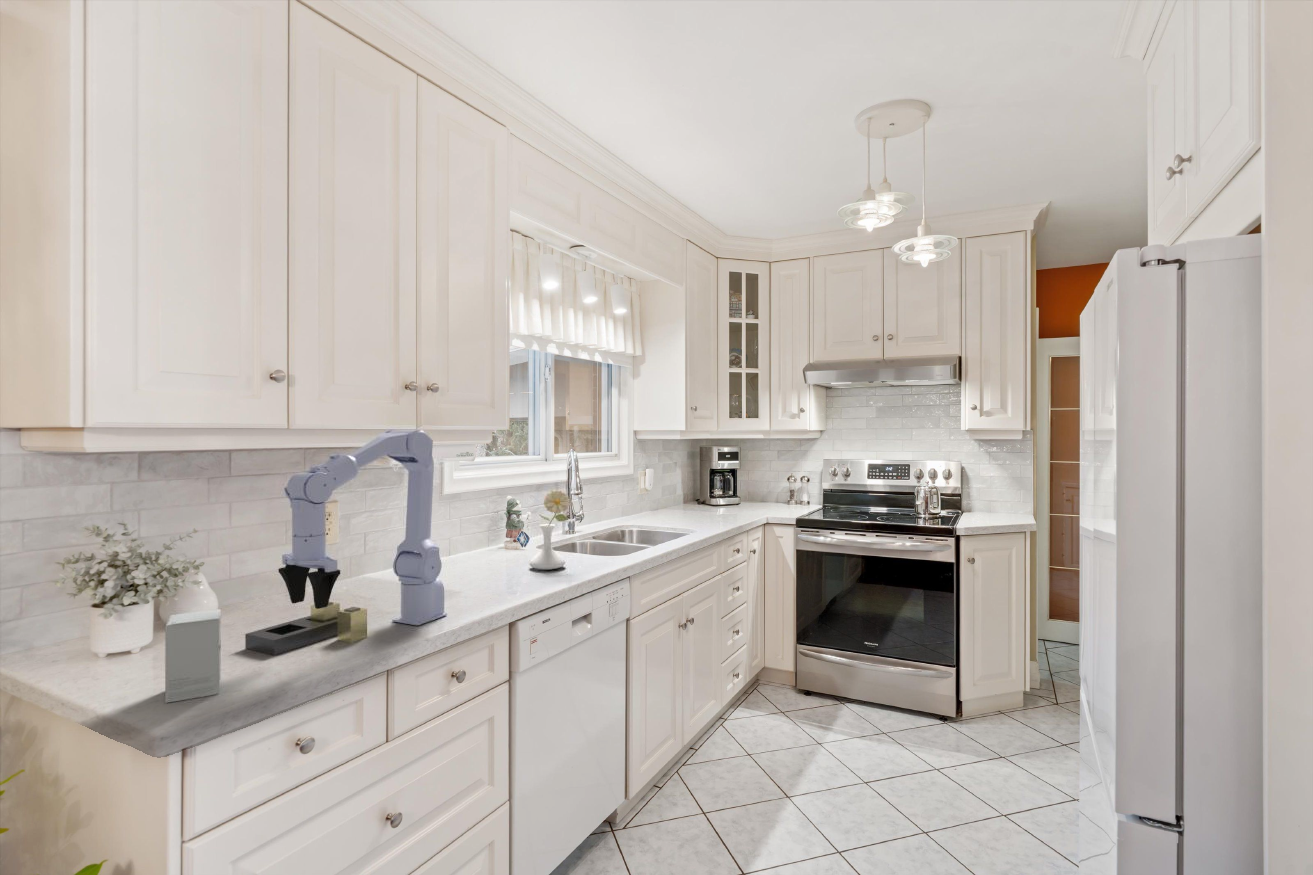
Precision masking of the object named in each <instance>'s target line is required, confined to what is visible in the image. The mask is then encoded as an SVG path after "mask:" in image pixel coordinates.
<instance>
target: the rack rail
mask: <svg viewBox="0 0 1313 875" xmlns="http://www.w3.org/2000/svg"><path fill="white" fill-rule="evenodd" d="M244 635H245V636H244V637H245V638H244V640H245V641H244V642H245V645H244V646H245V648H244V649H245V650H249V651H253V652H257V653H262V654H267V655H271V656H278V655H280V654H284V653H286V652H290V651H293V650H296V649H300V648H303V647H305V646H308V645H312V644H316V643H318V642H322V641H325V640H328V639H330V638H333V637H338V619H335V620H331V621H328V622H325V623H320V622H314V621H311V615H308V616H304V617H300V618H297V619H294V620H289V621H287V622H282V623H278V624H277V625H271V626H268V627H265V628H261V629H258V630H253V631H251V632H247V633H245V634H244Z"/></svg>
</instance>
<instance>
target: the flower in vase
mask: <svg viewBox="0 0 1313 875" xmlns="http://www.w3.org/2000/svg"><path fill="white" fill-rule="evenodd" d="M570 501H571V499H569V496H568V494H567V493H566V492H565V491H564V492H563V491H562V490H556V489H555V490H554V491H551V492H549V493H546V496H545V498H544V501H543V505H544V507H545V509H546V511H548V512H550V513H554V515H553V517H552V518H551V520H550V519H549V518H548V517H545V516H542V514H539V516H540V518H542V519H544V520H547V521H549V523H547V524H546V523H544V524H539V527H540V529H541V531H542V534H543V536H542V537H543V547H542V549H541V550H540V551H539V552H538V553H536V554H535V555H534V556H533V557H532V558H531V560H529V563H528V565H529V566H530V568H534V569H536V570H545V571H546V570H555V569H556V570H557V569H559V568H562V567H564V566H565V564H566V560H565V559H564V558H563V557H562V556H561V555H560V554H559V553H557V552H556V551H555V550H554V549H553V547H552V533H553V530H554V529H555V527H556V524H554V523H553V524H552V522H553V520H554V519H555V520H557V522H564V521H567V520H569V518H568V516H566V515H565V514H564V513H562V512H565V511H567V510H568V509H569V508H568V507H569V506H570V503H571V502H570Z"/></svg>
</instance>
